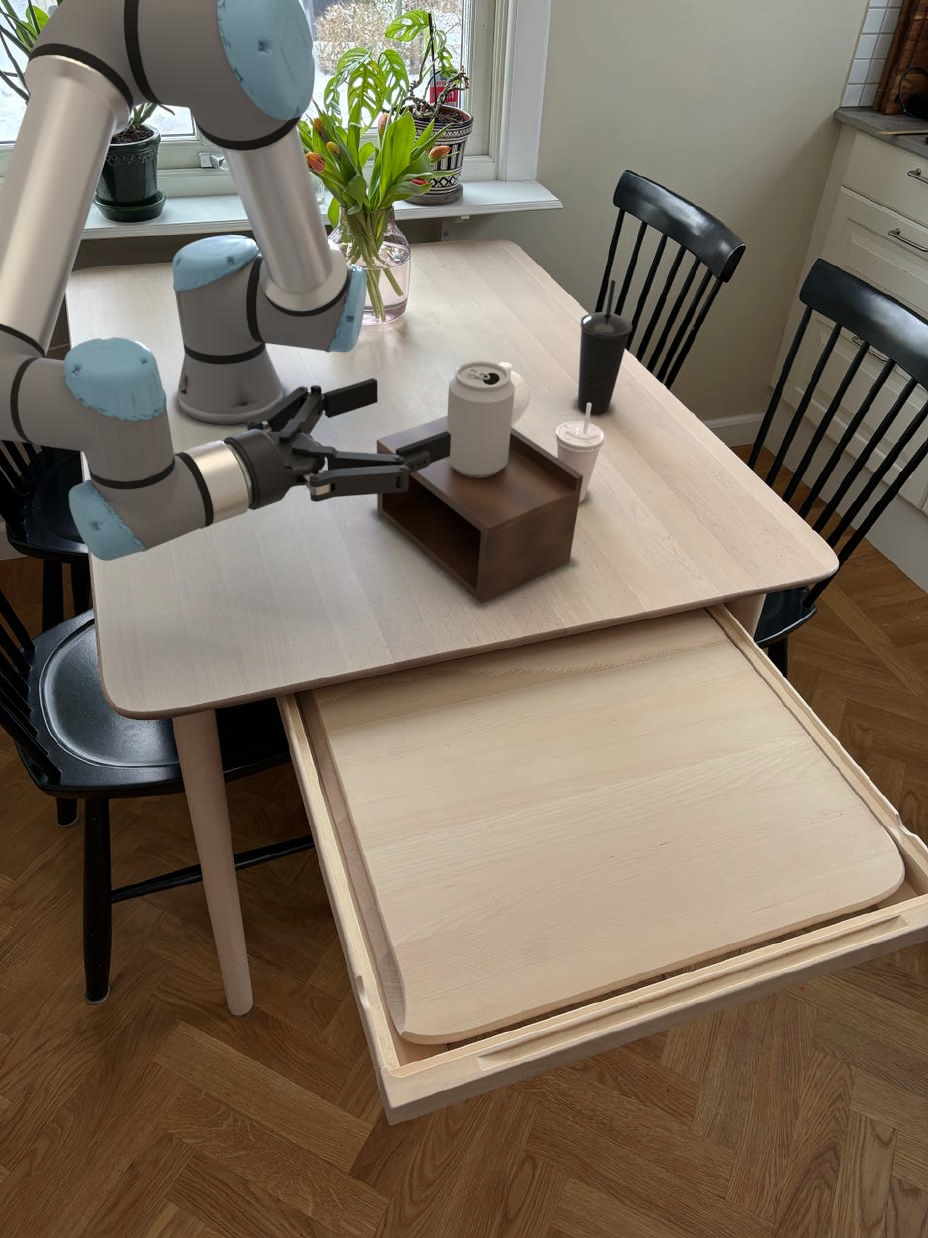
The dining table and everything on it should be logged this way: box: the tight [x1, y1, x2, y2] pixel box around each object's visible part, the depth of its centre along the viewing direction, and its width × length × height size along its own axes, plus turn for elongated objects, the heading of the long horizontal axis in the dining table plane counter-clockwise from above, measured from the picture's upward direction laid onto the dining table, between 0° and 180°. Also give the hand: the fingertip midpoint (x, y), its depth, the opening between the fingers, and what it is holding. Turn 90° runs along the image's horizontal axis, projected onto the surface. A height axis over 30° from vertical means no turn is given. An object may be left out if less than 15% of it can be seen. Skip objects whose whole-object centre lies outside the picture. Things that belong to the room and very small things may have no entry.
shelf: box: [376, 414, 583, 604], centre depth 118 cm, size 14×22×13 cm, turn 38°
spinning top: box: [498, 361, 531, 428], centre depth 137 cm, size 8×8×12 cm
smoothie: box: [554, 403, 605, 503], centre depth 126 cm, size 6×6×14 cm
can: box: [446, 360, 515, 477], centre depth 111 cm, size 8×8×12 cm
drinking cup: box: [577, 279, 633, 416], centre depth 143 cm, size 8×8×20 cm
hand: (411, 415), depth 105 cm, fingers open, 13 cm apart
